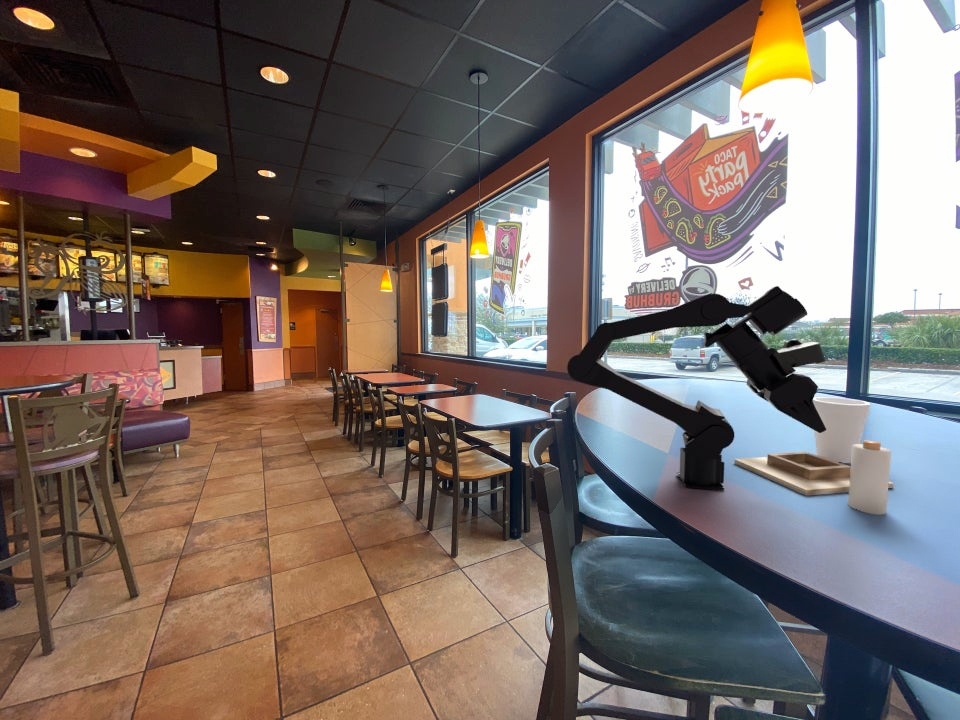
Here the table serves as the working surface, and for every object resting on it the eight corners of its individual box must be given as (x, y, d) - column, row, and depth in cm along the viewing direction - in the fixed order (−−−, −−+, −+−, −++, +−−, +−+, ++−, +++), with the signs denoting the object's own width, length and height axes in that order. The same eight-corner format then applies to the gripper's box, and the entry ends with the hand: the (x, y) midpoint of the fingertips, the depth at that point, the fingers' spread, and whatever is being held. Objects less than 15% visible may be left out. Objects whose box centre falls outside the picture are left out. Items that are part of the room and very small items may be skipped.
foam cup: (845, 467, 80) (849, 406, 78) (798, 453, 88) (801, 398, 87) (876, 462, 82) (881, 403, 81) (827, 449, 91) (831, 395, 90)
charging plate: (806, 495, 67) (807, 479, 67) (734, 463, 83) (734, 450, 83) (893, 488, 69) (894, 472, 69) (807, 458, 85) (808, 445, 85)
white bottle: (860, 513, 61) (865, 445, 60) (841, 500, 65) (845, 437, 64) (894, 515, 60) (900, 447, 59) (872, 503, 64) (877, 439, 63)
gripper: (813, 323, 57) (896, 409, 54) (778, 323, 73) (839, 389, 70) (741, 367, 61) (813, 450, 58) (723, 358, 78) (779, 421, 75)
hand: (812, 424), depth 65 cm, fingers open, 9 cm apart
